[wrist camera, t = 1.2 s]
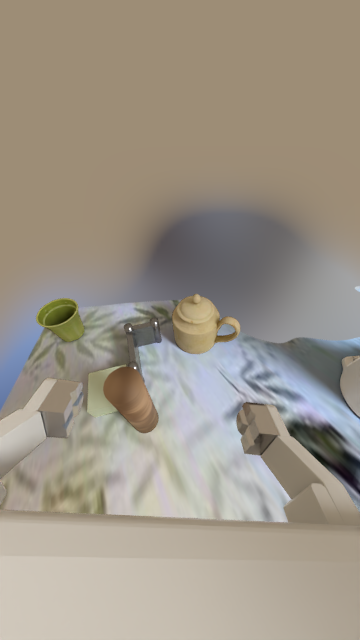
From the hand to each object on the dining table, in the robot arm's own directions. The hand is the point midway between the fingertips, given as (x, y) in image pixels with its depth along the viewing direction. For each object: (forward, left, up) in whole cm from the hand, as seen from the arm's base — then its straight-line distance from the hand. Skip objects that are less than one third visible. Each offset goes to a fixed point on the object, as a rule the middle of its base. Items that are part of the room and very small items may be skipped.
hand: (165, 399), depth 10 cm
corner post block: (+2, -21, -33) cm, 39 cm away
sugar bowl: (-12, -24, -33) cm, 43 cm away
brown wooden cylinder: (+5, -8, -33) cm, 34 cm away
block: (+11, -15, -33) cm, 38 cm away
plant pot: (+21, -35, -33) cm, 53 cm away
